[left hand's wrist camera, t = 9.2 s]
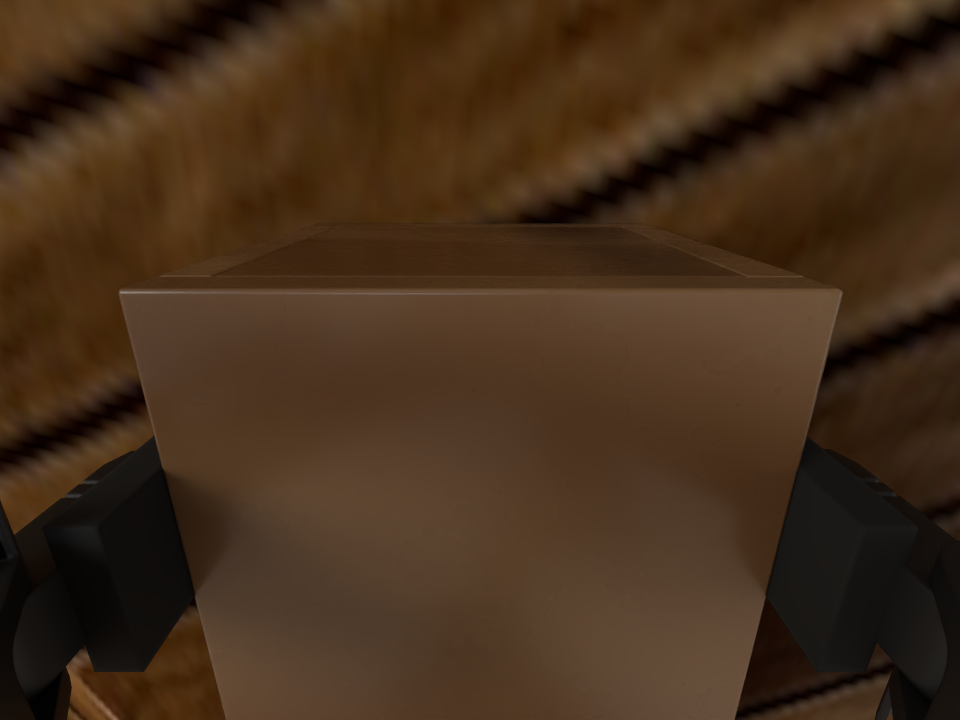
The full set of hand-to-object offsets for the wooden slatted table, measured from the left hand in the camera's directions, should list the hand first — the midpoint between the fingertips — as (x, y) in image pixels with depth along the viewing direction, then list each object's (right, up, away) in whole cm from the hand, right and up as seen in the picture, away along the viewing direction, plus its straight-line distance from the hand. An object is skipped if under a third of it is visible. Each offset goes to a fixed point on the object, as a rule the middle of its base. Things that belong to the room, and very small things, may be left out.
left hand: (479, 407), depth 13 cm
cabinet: (0, -5, +6) cm, 8 cm away
